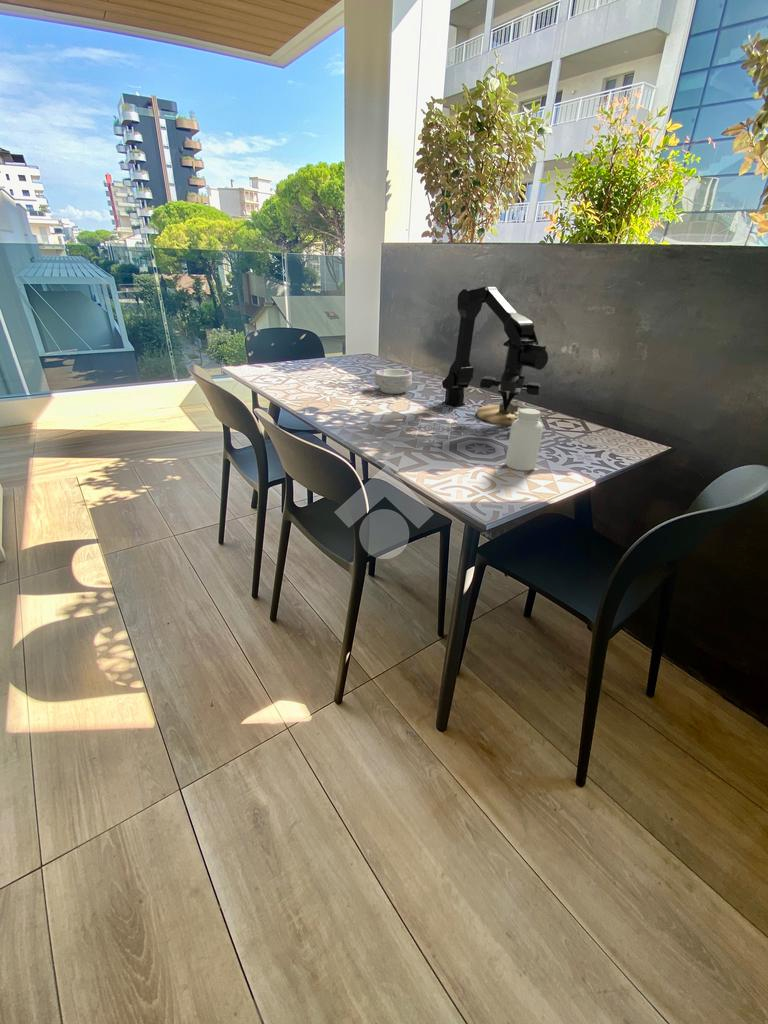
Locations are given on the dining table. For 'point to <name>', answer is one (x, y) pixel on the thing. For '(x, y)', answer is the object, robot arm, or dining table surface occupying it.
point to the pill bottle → (524, 440)
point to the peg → (509, 408)
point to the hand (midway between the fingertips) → (505, 411)
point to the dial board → (495, 415)
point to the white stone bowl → (393, 380)
